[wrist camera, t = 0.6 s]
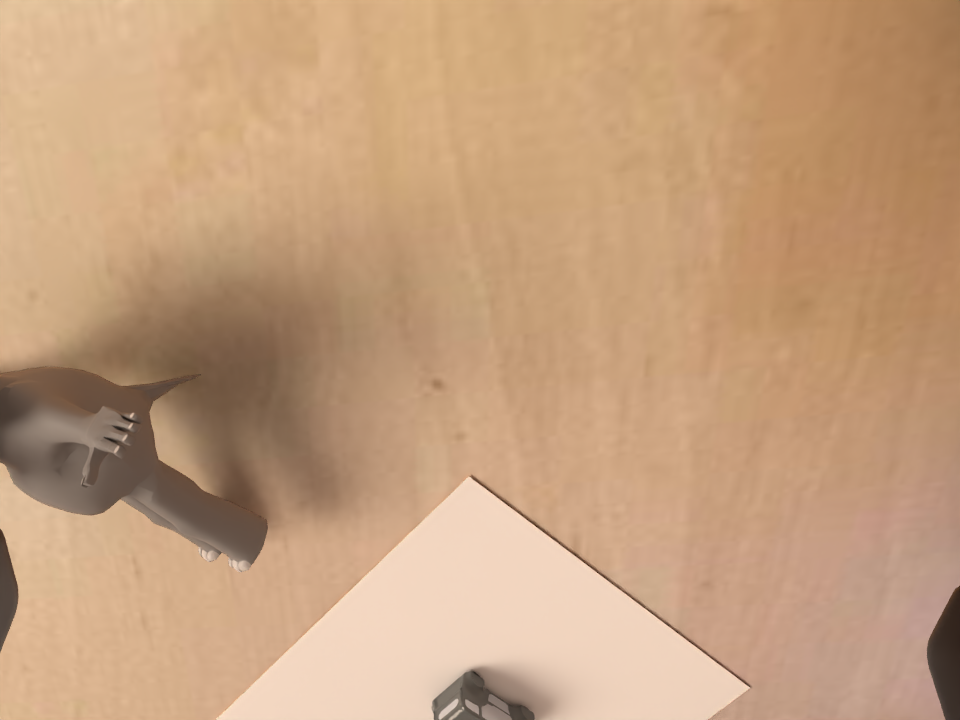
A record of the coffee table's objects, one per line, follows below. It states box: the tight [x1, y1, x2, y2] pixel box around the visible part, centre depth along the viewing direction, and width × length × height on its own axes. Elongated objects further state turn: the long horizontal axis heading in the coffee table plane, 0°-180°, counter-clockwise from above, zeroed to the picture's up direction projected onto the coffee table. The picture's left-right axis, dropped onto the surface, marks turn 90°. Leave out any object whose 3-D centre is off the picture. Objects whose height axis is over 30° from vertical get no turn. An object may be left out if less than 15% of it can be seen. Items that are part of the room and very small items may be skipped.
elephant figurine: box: [0, 367, 268, 572], centre depth 19 cm, size 10×6×9 cm
